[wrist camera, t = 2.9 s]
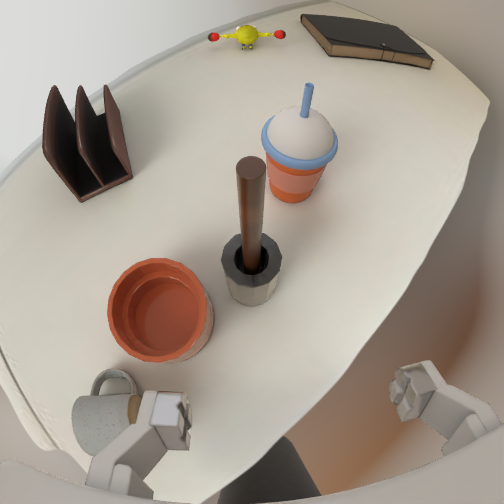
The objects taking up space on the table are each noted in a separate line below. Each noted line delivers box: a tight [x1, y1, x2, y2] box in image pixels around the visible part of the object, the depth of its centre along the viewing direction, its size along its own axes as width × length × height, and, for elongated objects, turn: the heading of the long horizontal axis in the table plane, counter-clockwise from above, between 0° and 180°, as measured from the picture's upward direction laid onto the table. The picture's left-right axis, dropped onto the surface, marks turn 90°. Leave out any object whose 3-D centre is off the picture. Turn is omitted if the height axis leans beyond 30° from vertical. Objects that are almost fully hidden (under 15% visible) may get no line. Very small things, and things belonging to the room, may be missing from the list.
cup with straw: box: [261, 83, 338, 203], centre depth 33 cm, size 9×9×18 cm
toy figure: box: [208, 25, 286, 49], centre depth 54 cm, size 18×6×7 cm, turn 94°
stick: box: [236, 156, 266, 275], centre depth 25 cm, size 2×2×22 cm
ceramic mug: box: [72, 369, 142, 456], centre depth 26 cm, size 11×8×8 cm
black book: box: [300, 14, 435, 69], centre depth 60 cm, size 33×4×24 cm
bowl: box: [107, 258, 213, 363], centre depth 32 cm, size 11×11×6 cm
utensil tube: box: [221, 233, 282, 306], centre depth 32 cm, size 6×6×9 cm
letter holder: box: [42, 85, 133, 202], centre depth 38 cm, size 10×20×14 cm, turn 24°
